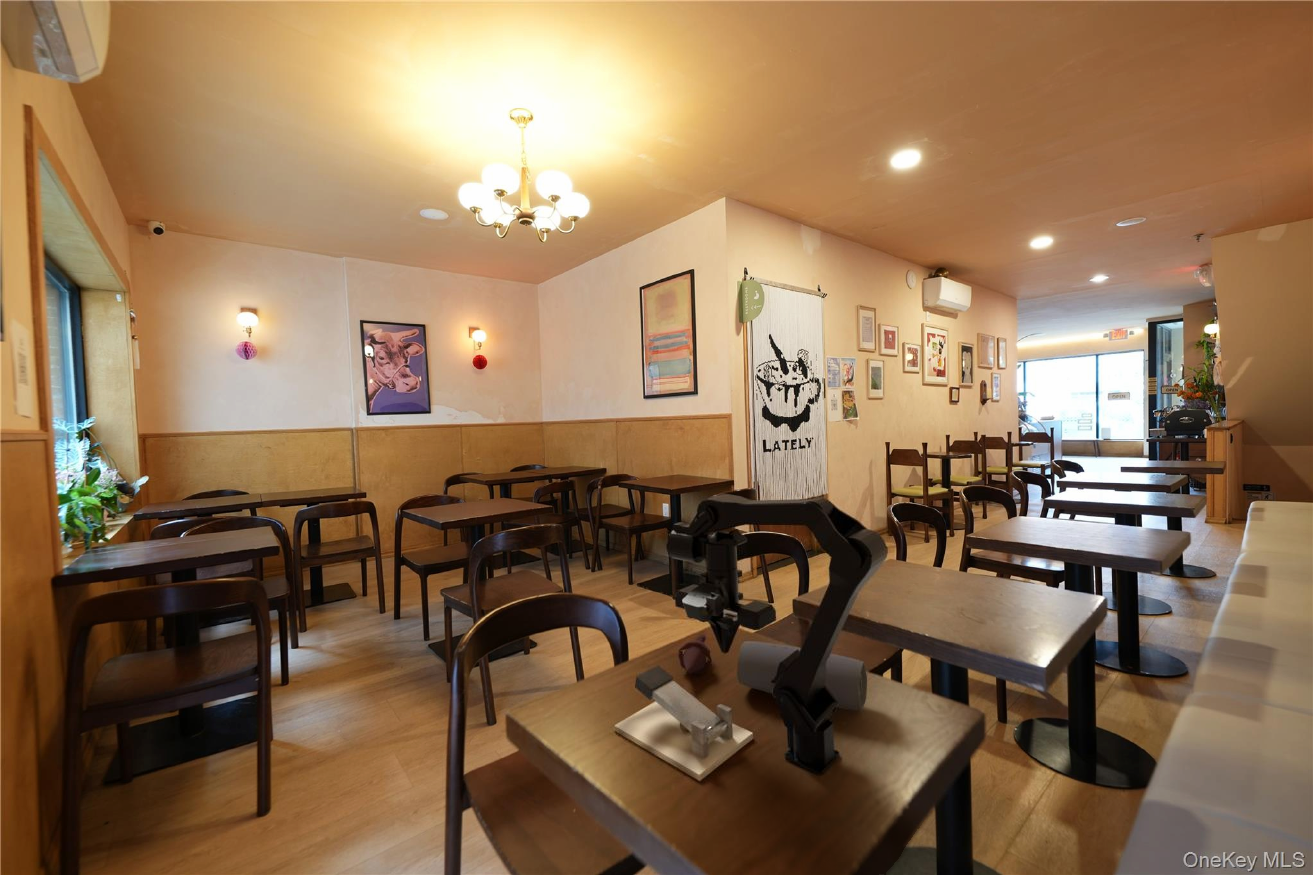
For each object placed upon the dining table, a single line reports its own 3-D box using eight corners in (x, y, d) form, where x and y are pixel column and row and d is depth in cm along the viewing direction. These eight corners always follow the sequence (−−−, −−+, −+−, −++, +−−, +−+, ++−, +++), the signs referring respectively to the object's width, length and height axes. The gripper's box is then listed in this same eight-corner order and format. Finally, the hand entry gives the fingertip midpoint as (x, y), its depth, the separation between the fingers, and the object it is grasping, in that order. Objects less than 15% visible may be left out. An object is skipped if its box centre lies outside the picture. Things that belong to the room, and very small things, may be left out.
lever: (726, 732, 92) (728, 721, 91) (704, 747, 88) (707, 736, 87) (656, 675, 103) (658, 665, 103) (634, 686, 99) (636, 676, 99)
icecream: (709, 660, 109) (720, 635, 124) (674, 648, 111) (689, 625, 126) (701, 693, 109) (713, 665, 124) (667, 681, 111) (682, 654, 126)
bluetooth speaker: (868, 701, 103) (866, 649, 102) (860, 728, 95) (858, 672, 94) (753, 677, 114) (751, 630, 114) (737, 699, 106) (734, 649, 106)
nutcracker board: (753, 738, 93) (751, 704, 93) (699, 780, 83) (697, 743, 83) (668, 698, 107) (667, 669, 107) (614, 730, 98) (612, 698, 97)
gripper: (651, 568, 98) (656, 653, 98) (736, 589, 84) (740, 687, 85) (693, 554, 105) (696, 633, 106) (776, 571, 92) (779, 661, 93)
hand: (725, 652), depth 97 cm, fingers closed
